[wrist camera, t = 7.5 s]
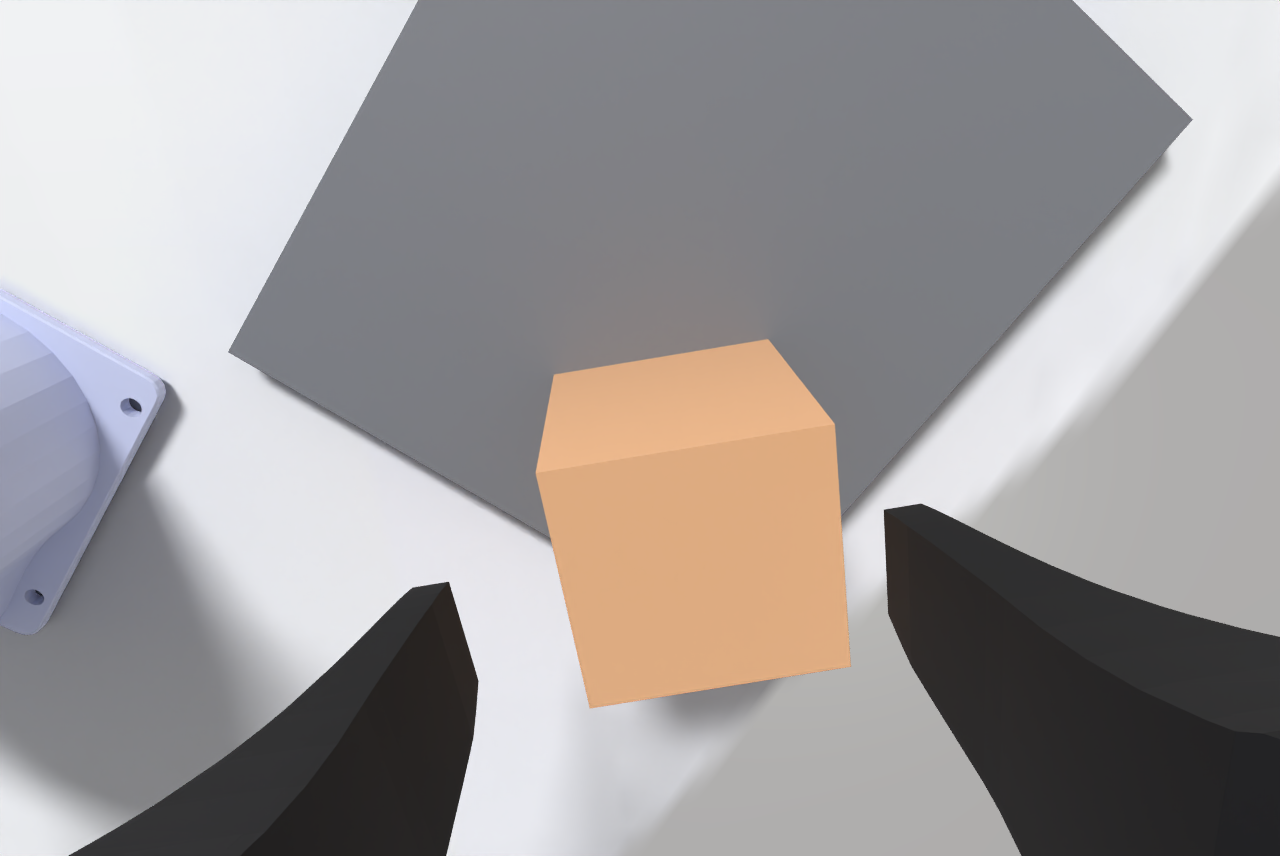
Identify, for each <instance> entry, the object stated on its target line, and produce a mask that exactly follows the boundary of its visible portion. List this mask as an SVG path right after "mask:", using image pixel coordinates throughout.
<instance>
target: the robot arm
mask: <svg viewBox="0 0 1280 856" xmlns="http://www.w3.org/2000/svg"><path fill="white" fill-rule="evenodd" d="M165 394H166V389H165V385H164V383H163V382H162V380H161V379H160V378H159V377H158V376H156V375H155V374H154V373H152V372H150V371H148V370H147V369H145V368H143V367H141V366H139V365H138V364H136V363H134V362H132V361H130V360H129V359H127V358H125V357H123V356H121V355H120V354H118V353H116V352H114V351H112V350H111V349H109V348H107V347H105V346H103V345H102V344H100V343H98V342H96V341H95V340H93V339H91V338H89V337H87V336H86V335H84V334H82V333H80V332H78V331H77V330H75V329H73V328H71V327H69V326H68V325H66V324H64V323H62V322H60V321H59V320H57V319H55V318H53V317H51V316H50V315H48V314H46V313H44V312H42V311H41V310H39V309H37V308H35V307H33V306H32V305H30V304H28V303H26V302H24V301H23V300H21V299H19V298H17V297H15V296H14V295H12V294H10V293H8V292H6V291H5V290H3V289H1V288H0V625H1V626H3V627H5V628H7V629H10V630H12V631H14V632H16V633H20V634H23V635H32V634H34V633H37V632H38V631H39V630H40V629H41V628H42V627H43V626H44V625H45V624H46V623H47V622H48V620H49V618H50V616H51V615H52V613H53V611H54V609H55V607H56V605H57V603H58V601H59V599H60V597H61V595H62V593H63V592H64V590H65V588H66V586H67V584H68V582H69V580H70V578H71V576H72V574H73V572H74V571H75V569H76V567H77V565H78V563H79V561H80V559H81V557H82V555H83V553H84V551H85V550H86V548H87V546H88V544H89V542H90V540H91V538H92V536H93V534H94V532H95V530H96V529H97V527H98V525H99V523H100V521H101V519H102V517H103V515H104V513H105V511H106V509H107V507H108V506H109V504H110V502H111V500H112V498H113V496H114V494H115V492H116V490H117V488H118V486H119V485H120V483H121V481H122V479H123V477H124V475H125V473H126V471H127V469H128V467H129V465H130V464H131V462H132V460H133V458H134V456H135V454H136V452H137V450H138V448H139V446H140V444H141V443H142V441H143V439H144V437H145V435H146V433H147V431H148V429H149V427H150V425H151V423H152V421H153V420H154V418H155V416H156V414H157V412H158V410H159V408H160V406H161V404H162V402H163V400H164V399H165ZM129 398H131V399H135V400H136V401H137V402H138V403H140V405H141V408H142V410H141V412H139V411H136V410H135V409H133V408H132V407H131V405H130V403H129ZM884 526H885V549H886V572H887V595H888V614H889V617H890V619H891V621H892V623H893V626H894V628H895V631H896V633H897V635H898V637H899V640H900V642H901V644H902V647H903V649H904V651H905V653H906V655H907V657H908V660H909V662H910V664H911V666H912V668H913V669H914V671H915V673H916V674H917V676H918V678H919V679H920V681H921V683H922V684H923V686H924V688H925V689H926V691H927V692H928V694H929V696H930V697H931V699H932V701H933V702H934V704H935V706H936V707H937V709H938V710H939V712H940V714H941V715H942V717H943V718H944V720H945V722H946V723H947V725H948V726H949V728H950V730H951V731H952V733H953V734H954V736H955V738H956V739H957V741H958V742H959V744H960V746H961V747H962V749H963V750H964V752H965V754H966V755H967V757H968V758H969V760H970V762H971V763H972V765H973V767H974V768H975V770H976V771H977V773H978V774H979V776H980V778H981V779H982V781H983V783H984V784H985V786H986V788H987V790H988V791H989V793H990V795H991V797H992V798H993V800H994V802H995V804H996V806H997V807H998V809H999V811H1000V813H1001V815H1002V817H1003V819H1004V821H1005V823H1006V825H1007V827H1008V829H1009V831H1010V833H1011V835H1012V837H1013V839H1014V841H1015V843H1016V845H1017V847H1018V849H1019V852H1020V854H1021V856H1280V637H1277V636H1273V635H1268V634H1263V633H1259V632H1255V631H1250V630H1246V629H1241V628H1238V627H1234V626H1230V625H1226V624H1223V623H1219V622H1215V621H1211V620H1208V619H1204V618H1200V617H1196V616H1192V615H1189V614H1185V613H1182V612H1178V611H1175V610H1172V609H1168V608H1165V607H1161V606H1159V605H1156V604H1153V603H1150V602H1147V601H1143V600H1141V599H1138V598H1135V597H1132V596H1129V595H1126V594H1123V593H1120V592H1117V591H1114V590H1111V589H1109V588H1106V587H1103V586H1101V585H1098V584H1095V583H1093V582H1090V581H1087V580H1085V579H1082V578H1080V577H1078V576H1075V575H1073V574H1071V573H1068V572H1066V571H1063V570H1061V569H1058V568H1056V567H1054V566H1051V565H1049V564H1047V563H1045V562H1042V561H1040V560H1038V559H1036V558H1034V557H1031V556H1029V555H1027V554H1025V553H1023V552H1020V551H1018V550H1016V549H1014V548H1012V547H1010V546H1008V545H1006V544H1004V543H1001V542H1000V541H997V540H996V539H993V538H991V537H989V536H987V535H985V534H983V533H981V532H979V531H977V530H975V529H973V528H971V527H969V526H967V525H965V524H963V523H961V522H959V521H958V520H956V519H953V518H951V517H949V516H947V515H945V514H943V513H941V512H939V511H937V510H935V509H933V508H930V507H928V506H926V505H923V504H916V505H910V506H904V507H898V508H892V509H886V510H884ZM35 590H37V591H39V592H40V593H42V595H43V596H44V597H42V596H40V595H38V594H37V593H36V592H35ZM477 693H478V678H477V675H476V671H475V668H474V665H473V661H472V658H471V655H470V651H469V648H468V645H467V641H466V638H465V634H464V631H463V628H462V624H461V621H460V618H459V614H458V611H457V608H456V604H455V601H454V598H453V594H452V591H451V587H450V584H449V582H445V583H438V584H432V585H426V586H420V587H414V588H412V589H410V590H409V591H408V592H407V593H406V594H405V595H404V596H403V597H401V598H400V599H399V600H398V601H397V602H396V603H395V604H394V605H393V606H392V607H391V608H390V609H389V610H388V611H387V612H386V613H385V614H384V615H383V616H382V617H381V618H380V619H379V620H378V621H377V622H376V623H375V624H374V625H373V626H372V627H371V628H370V629H369V630H368V632H366V633H365V634H364V635H363V636H362V637H361V638H360V639H359V640H358V641H357V642H356V643H355V644H354V645H353V646H352V647H351V648H350V649H349V650H348V651H347V652H346V653H345V654H344V655H343V656H342V657H341V658H340V659H339V660H338V661H337V662H336V663H335V664H334V665H333V666H332V667H331V668H330V669H329V670H328V671H327V672H326V673H324V674H323V675H322V676H321V677H320V678H319V679H318V680H317V681H316V682H315V683H314V684H312V685H311V686H310V687H309V688H308V689H307V690H306V691H305V692H304V693H303V694H302V695H300V696H299V697H298V698H297V699H296V700H295V701H294V702H293V703H292V704H291V705H290V706H288V707H287V708H286V709H285V710H284V711H283V712H281V713H280V714H279V715H278V716H277V717H275V718H274V719H273V720H272V721H271V722H269V723H268V724H267V725H266V726H264V727H263V728H262V729H261V730H260V731H258V732H257V733H256V734H254V735H253V736H252V737H250V738H249V739H248V740H247V741H245V742H244V743H243V744H241V745H240V746H239V747H238V748H236V749H235V750H234V751H232V752H231V753H230V754H228V755H227V756H226V757H224V758H223V759H222V760H220V761H219V762H217V763H216V764H214V765H213V766H212V767H210V768H209V769H207V770H206V771H204V772H203V773H201V774H200V775H198V776H197V777H195V778H194V779H192V780H191V781H189V782H188V783H186V784H185V785H184V786H182V787H181V788H179V789H178V790H176V791H175V792H173V793H172V794H170V795H169V796H167V797H166V798H164V799H163V800H161V801H160V802H158V803H157V804H155V805H154V806H152V807H151V808H149V809H147V810H146V811H144V812H143V813H141V814H139V815H138V816H136V817H134V818H133V819H131V820H129V821H128V822H126V823H124V824H123V825H121V826H120V827H118V828H116V829H115V830H113V831H111V832H109V833H108V834H106V835H104V836H102V837H101V838H99V839H97V840H95V841H94V842H92V843H90V844H88V845H87V846H85V847H83V848H81V849H80V850H78V851H76V852H74V853H73V854H71V855H69V856H446V854H447V850H448V846H449V841H450V837H451V833H452V829H453V824H454V820H455V816H456V812H457V807H458V803H459V799H460V795H461V790H462V786H463V782H464V777H465V773H466V768H467V764H468V760H469V755H470V751H471V746H472V741H473V735H474V726H475V717H476V705H477Z"/></svg>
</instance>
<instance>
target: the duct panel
mask: <svg viewBox="0 0 1280 856" xmlns="http://www.w3.org/2000/svg"><path fill="white" fill-rule="evenodd" d="M1192 120H1193V119H1192V118H1191V117H1190V116H1189V115H1188V114H1187V113H1186V112H1185V111H1184V110H1183V109H1182V108H1181V107H1180V106H1179V105H1178V104H1177V103H1175V102H1174V101H1173V100H1172V99H1171V98H1170V97H1169V96H1168V95H1167V94H1166V93H1165V92H1164V91H1163V90H1162V89H1161V88H1160V87H1159V86H1158V85H1157V84H1156V83H1155V82H1154V81H1153V80H1152V79H1151V78H1150V77H1149V76H1148V75H1147V74H1146V73H1145V72H1144V71H1143V70H1142V69H1141V68H1140V67H1139V66H1138V65H1137V64H1136V63H1135V62H1134V61H1133V60H1132V59H1131V58H1130V57H1129V56H1128V55H1127V54H1126V53H1125V52H1124V51H1123V50H1122V49H1121V48H1120V47H1119V46H1118V45H1117V44H1116V43H1115V42H1114V41H1113V40H1112V39H1111V38H1110V37H1109V36H1108V35H1107V34H1106V33H1105V32H1104V31H1103V30H1102V29H1101V28H1100V27H1099V26H1098V25H1097V24H1096V23H1095V22H1094V21H1093V20H1092V19H1091V18H1090V17H1089V16H1088V15H1087V14H1086V13H1085V12H1084V11H1083V10H1082V9H1081V8H1080V7H1079V6H1078V5H1076V4H1075V3H1074V2H1073V1H1072V0H418V2H417V4H416V6H415V8H414V9H413V11H412V13H411V15H410V17H409V19H408V21H407V22H406V24H405V26H404V28H403V30H402V32H401V33H400V35H399V37H398V39H397V41H396V43H395V45H394V46H393V48H392V50H391V52H390V54H389V56H388V57H387V59H386V61H385V63H384V65H383V67H382V69H381V70H380V72H379V74H378V76H377V78H376V80H375V82H374V83H373V85H372V87H371V89H370V91H369V93H368V94H367V96H366V98H365V100H364V102H363V104H362V106H361V107H360V109H359V111H358V113H357V115H356V117H355V118H354V120H353V122H352V124H351V126H350V128H349V130H348V131H347V133H346V135H345V137H344V139H343V141H342V143H341V144H340V146H339V148H338V150H337V152H336V154H335V155H334V157H333V159H332V161H331V163H330V165H329V167H328V168H327V170H326V172H325V174H324V176H323V178H322V179H321V181H320V183H319V185H318V187H317V189H316V191H315V192H314V194H313V196H312V198H311V200H310V202H309V203H308V205H307V207H306V209H305V211H304V213H303V215H302V216H301V218H300V220H299V222H298V224H297V226H296V228H295V229H294V231H293V233H292V235H291V237H290V239H289V240H288V242H287V244H286V246H285V248H284V250H283V252H282V253H281V255H280V257H279V259H278V261H277V263H276V264H275V266H274V268H273V270H272V272H271V274H270V276H269V277H268V279H267V281H266V283H265V285H264V287H263V289H262V290H261V292H260V294H259V296H258V298H257V300H256V301H255V303H254V305H253V307H252V309H251V311H250V313H249V314H248V316H247V318H246V320H245V322H244V324H243V325H242V327H241V329H240V331H239V333H238V335H237V337H236V338H235V340H234V342H233V344H232V346H231V348H230V349H229V351H228V352H229V353H231V354H232V355H234V356H236V357H238V358H239V359H241V360H243V361H244V362H246V363H248V364H250V365H251V366H253V367H255V368H257V369H258V370H260V371H262V372H264V373H265V374H267V375H269V376H270V377H272V378H274V379H276V380H277V381H279V382H281V383H283V384H284V385H286V386H288V387H289V388H291V389H293V390H295V391H296V392H298V393H300V394H302V395H303V396H305V397H307V398H308V399H310V400H312V401H314V402H315V403H317V404H319V405H321V406H322V407H324V408H326V409H328V410H329V411H331V412H333V413H334V414H336V415H338V416H340V417H341V418H343V419H345V420H347V421H348V422H350V423H352V424H353V425H355V426H357V427H359V428H360V429H362V430H364V431H366V432H367V433H369V434H371V435H372V436H374V437H376V438H378V439H379V440H381V441H383V442H385V443H386V444H388V445H390V446H392V447H393V448H395V449H397V450H398V451H400V452H402V453H404V454H405V455H407V456H409V457H411V458H412V459H414V460H416V461H417V462H419V463H421V464H423V465H424V466H426V467H428V468H430V469H431V470H433V471H435V472H436V473H438V474H440V475H442V476H443V477H445V478H447V479H449V480H450V481H452V482H454V483H456V484H457V485H459V486H461V487H462V488H464V489H466V490H468V491H469V492H471V493H473V494H475V495H476V496H478V497H480V498H481V499H483V500H485V501H487V502H488V503H490V504H492V505H494V506H495V507H497V508H499V509H501V510H502V511H504V512H506V513H507V514H509V515H511V516H513V517H514V518H516V519H518V520H520V521H521V522H523V523H525V524H526V525H528V526H530V527H532V528H533V529H535V530H537V531H539V532H540V533H542V534H544V535H545V536H547V537H549V538H550V533H549V529H548V525H547V520H546V516H545V512H544V507H543V503H542V499H541V494H540V490H539V486H538V481H537V477H536V468H537V463H538V457H539V452H540V446H541V441H542V436H543V430H544V425H545V420H546V414H547V409H548V403H549V398H550V393H551V387H552V382H553V376H554V375H555V374H561V373H567V372H573V371H579V370H585V369H591V368H597V367H603V366H609V365H615V364H621V363H627V362H633V361H639V360H645V359H651V358H657V357H663V356H669V355H675V354H681V353H688V352H694V351H700V350H706V349H712V348H718V347H724V346H730V345H736V344H742V343H748V342H754V341H760V340H766V339H768V340H769V341H770V342H771V343H772V345H773V346H774V347H775V348H776V350H777V351H778V352H779V354H780V355H781V356H782V357H783V359H784V360H785V361H786V362H787V364H788V365H789V366H790V368H791V369H792V370H793V371H794V373H795V374H796V375H797V376H798V378H799V379H800V380H801V382H802V383H803V384H804V385H805V387H806V388H807V389H808V390H809V392H810V393H811V394H812V396H813V397H814V398H815V399H816V401H817V402H818V403H819V404H820V406H821V407H822V408H823V410H824V411H825V412H826V413H827V415H828V416H829V417H830V418H831V420H832V421H833V422H834V424H835V433H836V449H837V464H838V479H839V494H840V510H841V516H842V515H843V514H844V513H845V512H846V511H847V509H848V508H849V507H850V506H851V505H852V504H853V503H854V502H855V500H856V499H857V498H858V497H859V496H860V495H861V494H862V492H863V491H864V490H865V489H866V488H867V487H868V486H869V485H870V483H871V482H872V481H873V480H874V479H875V478H876V477H877V476H878V474H879V473H880V472H881V471H882V470H883V469H884V468H885V467H886V465H887V464H888V463H889V462H890V461H891V460H892V459H893V457H894V456H895V455H896V454H897V453H898V452H899V451H900V450H901V448H902V447H903V446H904V445H905V444H906V443H907V442H908V441H909V439H910V438H911V437H912V436H913V435H914V434H915V433H916V431H917V430H918V429H919V428H920V427H921V426H922V425H923V424H924V422H925V421H926V420H927V419H928V418H929V417H930V416H931V415H932V413H933V412H934V411H935V410H936V409H937V408H938V407H939V406H940V404H941V403H942V402H943V401H944V400H945V399H946V398H947V396H948V395H949V394H950V393H951V392H952V391H953V390H954V389H955V387H956V386H957V385H958V384H959V383H960V382H961V381H962V380H963V378H964V377H965V376H966V375H967V374H968V373H969V372H970V371H971V369H972V368H973V367H974V366H975V365H976V364H977V363H978V361H979V360H980V359H981V358H982V357H983V356H984V355H985V354H986V352H987V351H988V350H989V349H990V348H991V347H992V346H993V345H994V343H995V342H996V341H997V340H998V339H999V338H1000V337H1001V335H1002V334H1003V333H1004V332H1005V331H1006V330H1007V329H1008V328H1009V326H1010V325H1011V324H1012V323H1013V322H1014V321H1015V320H1016V319H1017V317H1018V316H1019V315H1020V314H1021V313H1022V312H1023V311H1024V310H1025V308H1026V307H1027V306H1028V305H1029V304H1030V303H1031V302H1032V300H1033V299H1034V298H1035V297H1036V296H1037V295H1038V294H1039V293H1040V291H1041V290H1042V289H1043V288H1044V287H1045V286H1046V285H1047V284H1048V282H1049V281H1050V280H1051V279H1052V278H1053V277H1054V276H1055V275H1056V273H1057V272H1058V271H1059V270H1060V269H1061V268H1062V267H1063V265H1064V264H1065V263H1066V262H1067V261H1068V260H1069V259H1070V258H1071V256H1072V255H1073V254H1074V253H1075V252H1076V251H1077V250H1078V249H1079V247H1080V246H1081V245H1082V244H1083V243H1084V242H1085V241H1086V239H1087V238H1088V237H1089V236H1090V235H1091V234H1092V233H1093V232H1094V230H1095V229H1096V228H1097V227H1098V226H1099V225H1100V224H1101V223H1102V221H1103V220H1104V219H1105V218H1106V217H1107V216H1108V215H1109V214H1110V212H1111V211H1112V210H1113V209H1114V208H1115V207H1116V206H1117V204H1118V203H1119V202H1120V201H1121V200H1122V199H1123V198H1124V197H1125V195H1126V194H1127V193H1128V192H1129V191H1130V190H1131V189H1132V188H1133V186H1134V185H1135V184H1136V183H1137V182H1138V181H1139V180H1140V179H1141V177H1142V176H1143V175H1144V174H1145V173H1146V172H1147V171H1148V169H1149V168H1150V167H1151V166H1152V165H1153V164H1154V163H1155V162H1156V160H1157V159H1158V158H1159V157H1160V156H1161V155H1162V154H1163V153H1164V151H1165V150H1166V149H1167V148H1168V147H1169V146H1170V145H1171V143H1172V142H1173V141H1174V140H1175V139H1176V138H1177V137H1178V136H1179V134H1180V133H1181V132H1182V131H1183V130H1184V129H1185V128H1186V127H1187V125H1188V124H1189V123H1190V122H1191V121H1192Z"/></svg>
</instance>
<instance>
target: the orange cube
mask: <svg viewBox="0 0 1280 856" xmlns="http://www.w3.org/2000/svg"><path fill="white" fill-rule="evenodd" d="M536 477H537V481H538V486H539V490H540V494H541V499H542V503H543V507H544V512H545V516H546V520H547V525H548V529H549V533H550V538H551V542H552V546H553V551H554V555H555V559H556V564H557V568H558V572H559V577H560V581H561V585H562V590H563V594H564V598H565V603H566V607H567V611H568V616H569V620H570V624H571V629H572V633H573V637H574V642H575V646H576V650H577V655H578V659H579V663H580V668H581V672H582V676H583V681H584V685H585V689H586V694H587V698H588V702H589V707H590V708H596V707H602V706H608V705H614V704H621V703H627V702H633V701H639V700H646V699H652V698H658V697H664V696H671V695H677V694H683V693H689V692H696V691H702V690H708V689H715V688H721V687H727V686H733V685H740V684H746V683H752V682H758V681H765V680H771V679H777V678H783V677H790V676H796V675H802V674H808V673H815V672H821V671H827V670H833V669H840V668H846V667H851V664H850V648H849V632H848V617H847V601H846V586H845V571H844V555H843V540H842V525H841V510H840V494H839V479H838V464H837V449H836V433H835V424H834V422H833V421H832V420H831V418H830V417H829V416H828V415H827V413H826V412H825V411H824V410H823V408H822V407H821V406H820V404H819V403H818V402H817V401H816V399H815V398H814V397H813V396H812V394H811V393H810V392H809V390H808V389H807V388H806V387H805V385H804V384H803V383H802V382H801V380H800V379H799V378H798V376H797V375H796V374H795V373H794V371H793V370H792V369H791V368H790V366H789V365H788V364H787V362H786V361H785V360H784V359H783V357H782V356H781V355H780V354H779V352H778V351H777V350H776V348H775V347H774V346H773V345H772V343H771V342H770V341H769V340H768V339H766V340H760V341H754V342H748V343H742V344H736V345H730V346H724V347H718V348H712V349H706V350H700V351H694V352H688V353H681V354H675V355H669V356H663V357H657V358H651V359H645V360H639V361H633V362H627V363H621V364H615V365H609V366H603V367H597V368H591V369H585V370H579V371H573V372H567V373H561V374H555V375H554V376H553V382H552V387H551V393H550V398H549V403H548V409H547V414H546V420H545V425H544V430H543V436H542V441H541V446H540V452H539V457H538V463H537V468H536Z"/></svg>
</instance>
